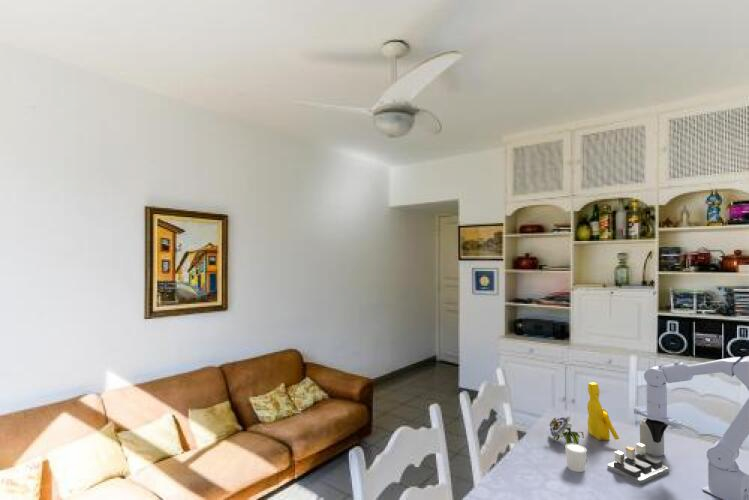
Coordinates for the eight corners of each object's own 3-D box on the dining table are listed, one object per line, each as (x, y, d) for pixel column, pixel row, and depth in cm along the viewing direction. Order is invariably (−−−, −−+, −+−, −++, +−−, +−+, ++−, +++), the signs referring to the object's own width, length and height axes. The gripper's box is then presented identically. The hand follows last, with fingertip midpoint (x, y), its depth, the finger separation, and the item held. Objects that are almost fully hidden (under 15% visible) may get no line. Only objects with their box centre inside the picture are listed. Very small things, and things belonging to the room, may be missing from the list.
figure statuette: (623, 447, 155) (623, 390, 155) (604, 448, 154) (604, 391, 154) (593, 426, 173) (593, 375, 173) (576, 428, 172) (575, 376, 172)
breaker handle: (635, 458, 141) (634, 448, 141) (631, 459, 140) (631, 450, 140) (629, 455, 143) (629, 446, 143) (625, 456, 142) (625, 447, 142)
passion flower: (554, 454, 161) (542, 422, 168) (581, 448, 161) (567, 417, 168) (563, 449, 152) (549, 416, 159) (590, 443, 152) (576, 411, 159)
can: (668, 458, 146) (668, 425, 146) (645, 456, 148) (645, 424, 148) (658, 448, 154) (658, 417, 154) (636, 446, 155) (636, 415, 155)
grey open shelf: (668, 472, 137) (668, 453, 137) (640, 485, 131) (639, 465, 130) (635, 457, 147) (635, 439, 147) (607, 468, 140) (607, 450, 140)
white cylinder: (575, 474, 137) (575, 453, 137) (560, 464, 144) (560, 444, 144) (591, 471, 139) (591, 450, 139) (576, 461, 146) (576, 441, 146)
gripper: (628, 397, 144) (628, 435, 144) (673, 412, 130) (673, 453, 131) (640, 394, 147) (640, 431, 147) (685, 407, 134) (685, 448, 134)
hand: (657, 441), depth 139 cm, fingers closed
